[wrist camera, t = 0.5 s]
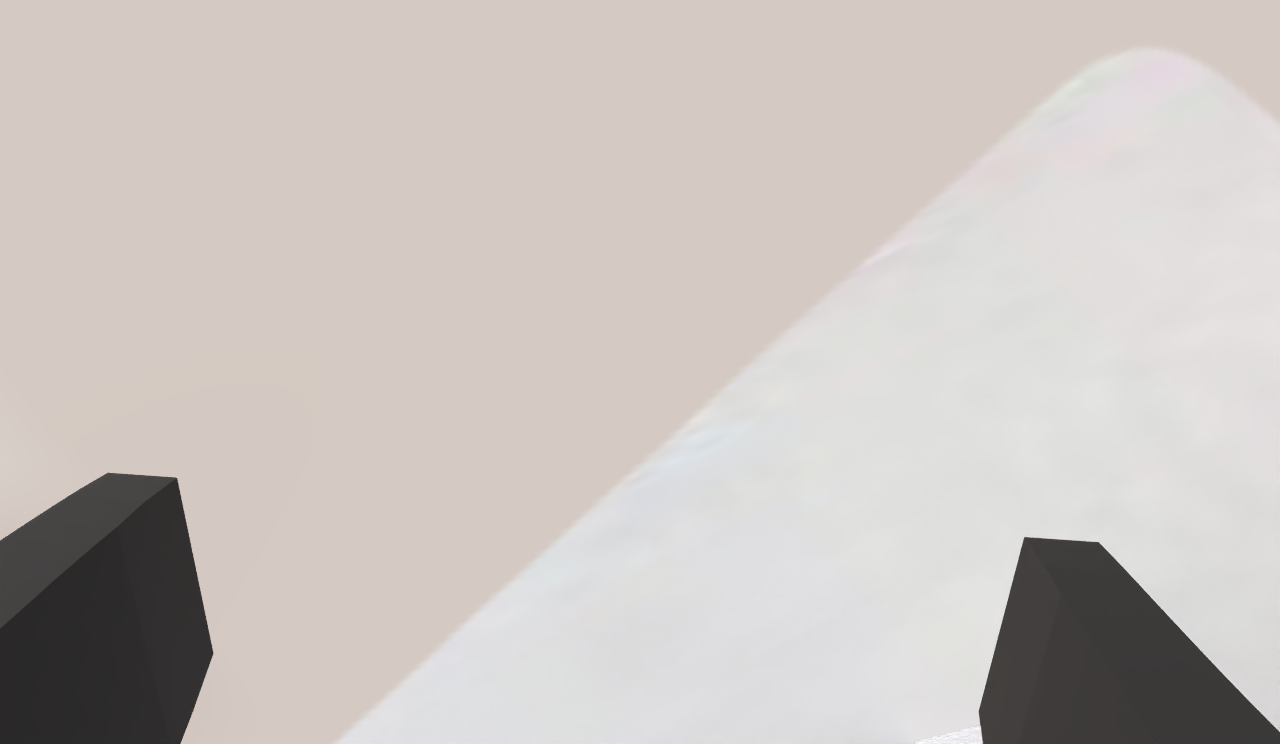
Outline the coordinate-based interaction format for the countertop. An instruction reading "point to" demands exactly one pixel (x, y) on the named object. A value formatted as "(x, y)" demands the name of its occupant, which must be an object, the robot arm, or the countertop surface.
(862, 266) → the countertop surface
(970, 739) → the peg
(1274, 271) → the countertop surface
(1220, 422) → the countertop surface
